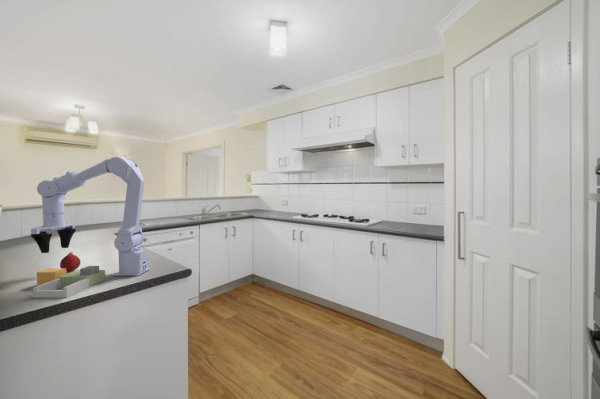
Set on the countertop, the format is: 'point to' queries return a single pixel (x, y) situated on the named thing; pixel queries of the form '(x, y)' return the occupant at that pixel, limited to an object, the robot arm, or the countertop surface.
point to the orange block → (49, 275)
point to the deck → (70, 283)
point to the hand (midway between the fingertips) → (55, 250)
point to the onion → (70, 262)
